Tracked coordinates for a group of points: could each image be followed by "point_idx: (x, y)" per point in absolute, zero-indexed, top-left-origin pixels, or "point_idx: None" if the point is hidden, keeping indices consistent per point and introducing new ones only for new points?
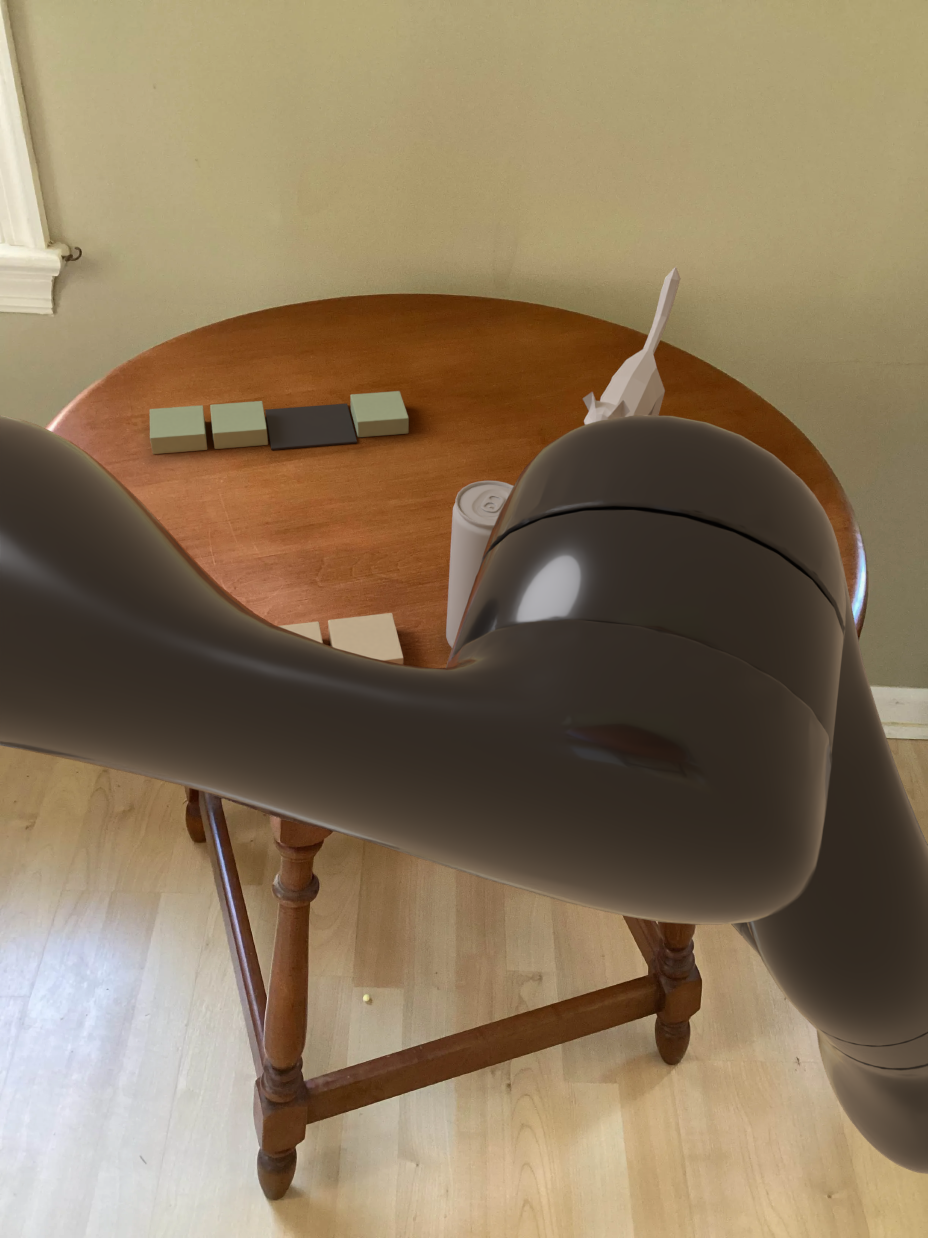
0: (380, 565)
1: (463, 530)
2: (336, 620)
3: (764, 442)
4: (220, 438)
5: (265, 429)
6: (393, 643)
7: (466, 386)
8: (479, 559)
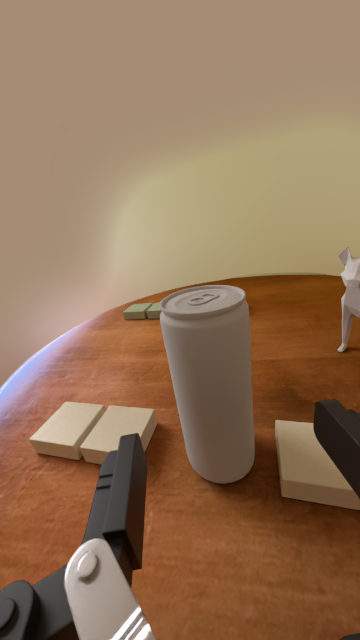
0: None
1: (161, 324)
2: (114, 406)
3: None
4: (149, 313)
5: None
6: None
7: (276, 299)
8: (177, 361)
